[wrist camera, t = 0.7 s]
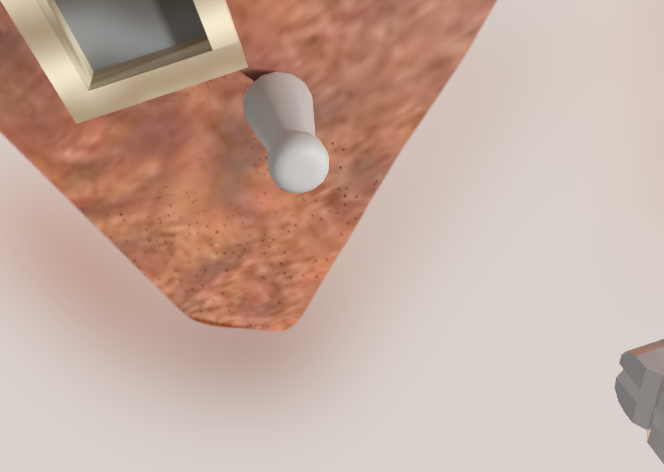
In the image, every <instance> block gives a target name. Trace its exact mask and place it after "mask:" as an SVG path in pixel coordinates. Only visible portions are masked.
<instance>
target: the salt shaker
mask: <svg viewBox="0 0 664 472" xmlns="http://www.w3.org/2000/svg"><path fill="white" fill-rule="evenodd" d="M243 106H244V114H245V119H246V120H247V122H248V123H249V125H250V126H251V128H252V130H253V131H254V132H255V134H256V135H257V137H258V138H259V140H260V141H261V142H262V144H263V145H264V147H265V148H266V149H267V151H268V152H269V154H268V156H267V159H268V169H269V174H270V175H271V177H272V178H273V180H274V181H275V183H276V184H277V186H278V187H280V188H281V189H283V190H285V191H287V192H292V193H303V192H307V191H310V190H313V189H314V188H316V187H317V186H318V185H319V184H321V183H322V182H323V181H324V179H325V177H326V175H327V173H328V171H329V156H328V153H327V151H326V149H325V147H324V146H323V144H322V142H321V141H320V139H318V138H317V137H315V125H314V112H313V99H312V95H311V93H310V92H309V90H308V88H307V86H306V84H305V83H304V82H303V81H302V80H300V79H299V78H297V77H296V76H294V75H293V74H291V73H284V72H277V71H275V72H272V73H269V74H265V75H261V76H260V77H259V78H258V79H257V80H256V81H255V82H254V83H252V84H251V85H250V86H249V89H248V91H247V93H246V96H245V98H244V101H243Z"/></svg>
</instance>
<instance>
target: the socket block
mask: <svg viewBox="0 0 664 472" xmlns="http://www.w3.org/2000/svg"><path fill="white" fill-rule="evenodd" d="M1 2H2V4H3V5H4V7H5V9H6V10H7V12H8V13H9V15H10V17H11V18H12V20H13V22H14V23H15V25H16V26H17V28H18V30H19V31H20V33H21V34H22V36H23V38H24V39H25V41H26V43H27V44H28V46H29V47H30V49H31V51H32V52H33V54H34V56H35V57H36V59H37V60H38V62H39V64H40V65H41V67H42V69H43V70H44V72H45V73H46V75H47V77H48V78H49V80H50V82H51V83H52V85H53V86H54V88H55V90H56V91H57V93H58V95H59V96H60V98H61V99H62V101H63V103H64V104H65V106H66V107H67V109H68V111H69V112H70V114H71V116H72V117H73V119H74V120H75V122H76V124H77V123H80V122H83V121H86V120H89V119H92V118H95V117H98V116H101V115H104V114H107V113H110V112H113V111H116V110H120V109H123V108H126V107H129V106H132V105H135V104H138V103H141V102H144V101H147V100H150V99H153V98H156V97H159V96H162V95H165V94H168V93H171V92H174V91H177V90H180V89H183V88H186V87H189V86H192V85H195V84H198V83H202V82H205V81H208V80H211V79H214V78H217V77H220V76H223V75H226V74H229V73H232V72H235V71H238V70H241V69H244V68H247V67H248V66H247V62H246V59H245V55H244V51H243V48H242V45H241V42H240V40H239V37H238V34H237V31H236V28H235V25H234V23H233V20H232V17H231V14H230V11H229V9H228V6H227V3H226V0H1Z"/></svg>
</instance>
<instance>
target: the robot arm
mask: <svg viewBox="0 0 664 472" xmlns="http://www.w3.org/2000/svg"><path fill="white" fill-rule="evenodd" d="M620 365H621V366H622V367H623V369H624V370H623V371H622V372H621V373H620V374H619V375H618V376H617V378H616V384H615V390H616V393H617V398H618V401H619V403H620V405H621V406H622V408H623V410H624V412H625V413H626V415H627V416H628V417H629V419H630V420H631V421H632V422H633V423H634V424H636V425H638V426H641V427H642V428H644V429H647V443H648V444H649V445H650V446H651V448H652V449H653V450H654V452H655V453H656V454H657V456H658V457H659V458H660V459H661V461H662V462H663V463H664V339H662V340H659V341H656V342H653V343H650V344H647V345H644V346H641V347H638V348H635V349H632V350H629V351H626V352H625V353H624V354H622V355H621V359H620Z"/></svg>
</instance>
